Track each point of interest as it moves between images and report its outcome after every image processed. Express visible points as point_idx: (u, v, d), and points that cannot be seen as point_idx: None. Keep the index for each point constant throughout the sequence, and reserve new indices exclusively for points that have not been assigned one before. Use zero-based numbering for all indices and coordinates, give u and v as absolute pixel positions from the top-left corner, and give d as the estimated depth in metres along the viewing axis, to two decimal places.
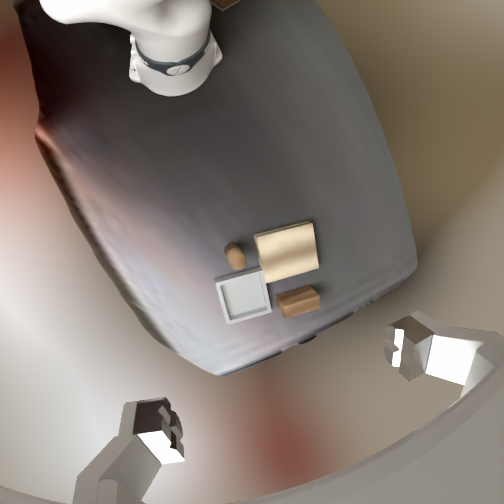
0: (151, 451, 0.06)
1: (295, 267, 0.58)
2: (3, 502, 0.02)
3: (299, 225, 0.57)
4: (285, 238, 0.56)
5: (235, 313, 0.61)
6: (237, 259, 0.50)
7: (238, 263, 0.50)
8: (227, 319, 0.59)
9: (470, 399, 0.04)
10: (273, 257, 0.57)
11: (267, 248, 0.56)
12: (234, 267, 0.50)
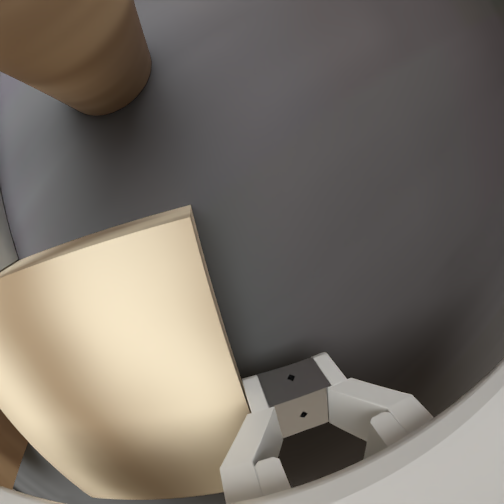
0: (279, 424, 0.07)
1: (53, 443, 0.07)
2: (3, 502, 0.02)
3: None
4: (193, 413, 0.07)
5: None
6: None
7: None
8: None
9: (470, 399, 0.04)
10: (52, 353, 0.06)
11: (101, 316, 0.06)
12: None
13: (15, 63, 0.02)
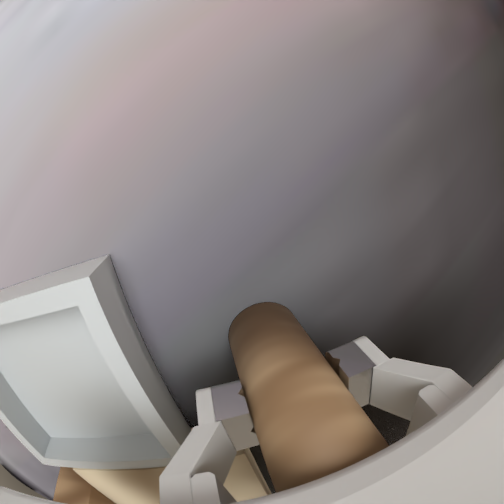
0: (230, 438, 0.07)
1: None
2: (3, 502, 0.02)
3: None
4: (239, 498, 0.12)
5: None
6: None
7: None
8: None
9: (470, 399, 0.04)
10: None
11: None
12: None
13: None
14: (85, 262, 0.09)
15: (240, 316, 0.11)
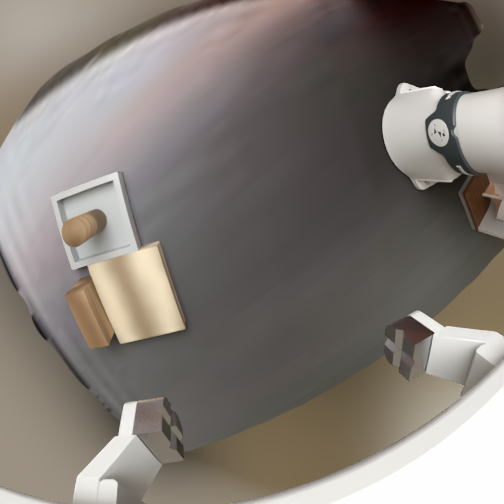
0: (151, 451, 0.06)
1: (116, 309, 0.34)
2: (3, 502, 0.02)
3: (179, 310, 0.36)
4: (158, 290, 0.34)
5: (67, 210, 0.31)
6: (76, 231, 0.25)
7: (70, 233, 0.25)
8: (58, 196, 0.28)
9: (470, 399, 0.04)
10: (126, 274, 0.33)
11: (140, 264, 0.33)
12: (64, 227, 0.24)
13: None
14: None
15: None
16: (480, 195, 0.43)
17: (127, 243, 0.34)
